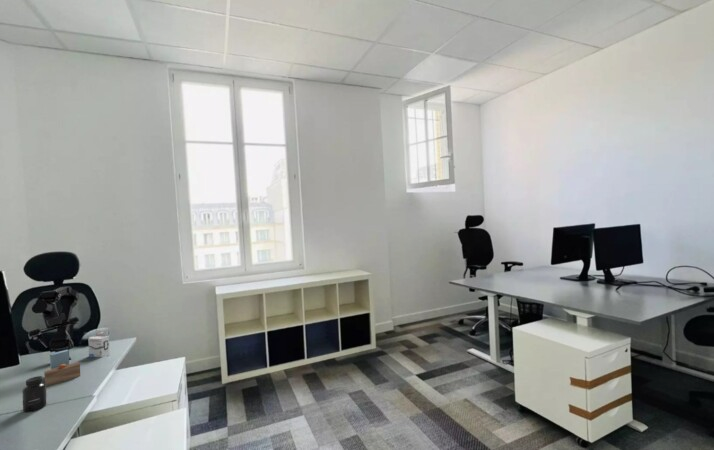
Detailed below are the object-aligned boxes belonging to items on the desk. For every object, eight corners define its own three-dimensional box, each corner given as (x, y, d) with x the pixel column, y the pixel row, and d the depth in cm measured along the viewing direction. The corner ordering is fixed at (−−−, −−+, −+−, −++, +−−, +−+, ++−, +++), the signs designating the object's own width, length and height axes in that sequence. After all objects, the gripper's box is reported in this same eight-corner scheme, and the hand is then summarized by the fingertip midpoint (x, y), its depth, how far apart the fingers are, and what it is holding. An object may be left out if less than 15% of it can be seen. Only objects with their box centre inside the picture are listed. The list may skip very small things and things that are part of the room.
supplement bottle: (31, 413, 126) (30, 383, 126) (18, 412, 128) (16, 382, 127) (51, 404, 133) (50, 375, 133) (38, 402, 134) (37, 374, 134)
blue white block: (50, 375, 156) (49, 353, 156) (68, 370, 161) (67, 349, 161) (51, 378, 154) (50, 355, 154) (69, 372, 159) (68, 350, 158)
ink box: (88, 359, 178) (87, 332, 178) (96, 355, 183) (95, 329, 183) (102, 359, 177) (101, 332, 177) (110, 355, 182) (109, 329, 182)
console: (42, 380, 154) (41, 363, 154) (75, 370, 164) (74, 355, 163) (46, 388, 146) (45, 370, 146) (80, 378, 155) (79, 361, 155)
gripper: (24, 318, 152) (34, 349, 150) (75, 303, 166) (84, 331, 164) (24, 323, 159) (33, 353, 157) (73, 309, 173) (82, 336, 171)
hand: (59, 343), depth 162 cm, fingers open, 9 cm apart
